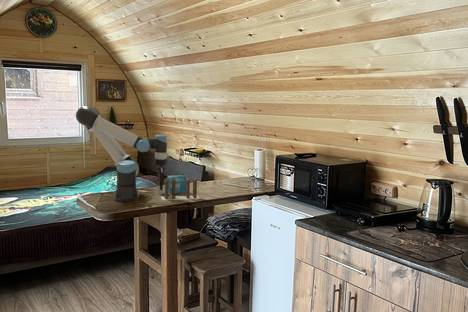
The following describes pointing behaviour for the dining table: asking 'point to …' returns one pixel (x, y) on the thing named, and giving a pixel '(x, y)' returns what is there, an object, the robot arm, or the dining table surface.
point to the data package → (177, 183)
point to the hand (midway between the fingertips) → (160, 193)
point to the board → (179, 198)
